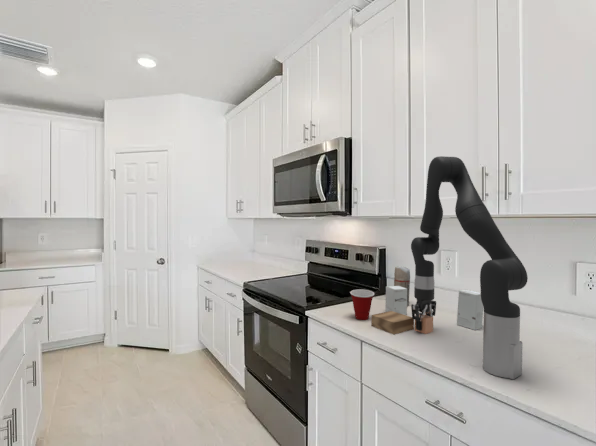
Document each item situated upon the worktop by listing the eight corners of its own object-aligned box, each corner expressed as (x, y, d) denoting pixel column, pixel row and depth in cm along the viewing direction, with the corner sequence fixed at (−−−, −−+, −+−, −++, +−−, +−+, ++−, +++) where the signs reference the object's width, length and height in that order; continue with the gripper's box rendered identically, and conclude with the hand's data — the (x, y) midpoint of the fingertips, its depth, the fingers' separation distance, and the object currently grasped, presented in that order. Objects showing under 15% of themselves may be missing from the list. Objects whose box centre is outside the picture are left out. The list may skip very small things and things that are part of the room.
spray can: (398, 301, 181) (398, 265, 180) (412, 304, 175) (412, 266, 174) (389, 304, 175) (390, 266, 175) (404, 307, 169) (404, 268, 169)
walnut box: (413, 330, 136) (413, 317, 136) (393, 335, 129) (393, 322, 129) (391, 322, 146) (391, 310, 146) (371, 326, 140) (371, 315, 140)
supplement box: (393, 316, 153) (393, 289, 153) (385, 312, 161) (385, 286, 160) (407, 315, 155) (407, 288, 155) (398, 311, 163) (398, 285, 162)
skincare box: (456, 325, 142) (457, 290, 141) (464, 322, 145) (464, 288, 145) (476, 330, 134) (476, 294, 134) (484, 328, 138) (484, 292, 138)
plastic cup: (351, 321, 145) (351, 294, 145) (348, 314, 156) (349, 289, 156) (376, 322, 144) (376, 294, 144) (372, 315, 155) (372, 289, 155)
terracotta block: (433, 331, 133) (433, 316, 133) (425, 334, 130) (426, 318, 130) (421, 328, 137) (422, 313, 137) (414, 330, 134) (414, 315, 134)
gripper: (422, 290, 126) (421, 334, 127) (442, 286, 135) (442, 327, 135) (405, 287, 132) (404, 329, 133) (426, 283, 141) (425, 322, 141)
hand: (423, 328), depth 134 cm, fingers open, 6 cm apart
